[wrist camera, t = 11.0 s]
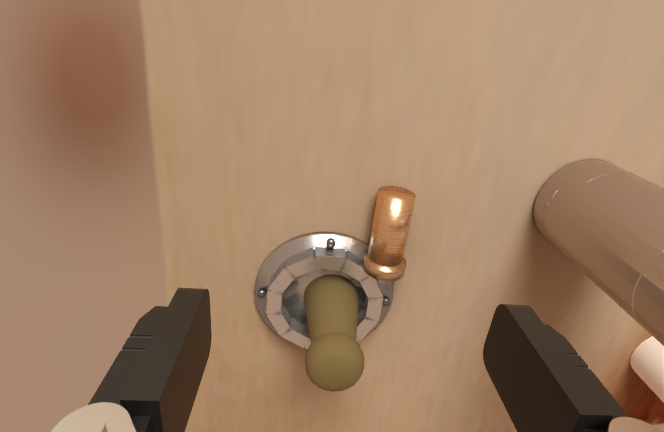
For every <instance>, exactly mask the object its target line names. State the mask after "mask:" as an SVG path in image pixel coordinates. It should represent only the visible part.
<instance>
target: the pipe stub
mask: <svg viewBox="0 0 664 432" xmlns="http://www.w3.org/2000/svg"><path fill="white" fill-rule="evenodd" d="M415 197H416V196H415V194H414V193H413V192H411V191H410V190H407V189H404V188H401V187H395V186H385V187H381V188H379V189H378V194H377V200H376V206H375V212H374V218H373V224H372V230H371V236H370V242H369V248H368V251H367V252H366V253H365V255H364V261H363V270H364V271H365V273H366V274H367V275H369V276H370V277H372V278H375V279H377V280H381V281H396V280H399V279H401V278H402V277H403V275H404V271H405V267H406V260H405V259H404V257H403V254H404V249H405V244H406V239H407V235H408V230H409V225H410V220H411V216H412V211H413V206H414V201H415Z"/></svg>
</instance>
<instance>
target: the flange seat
mask: <svg viewBox="0 0 664 432" xmlns="http://www.w3.org/2000/svg"><path fill="white" fill-rule="evenodd" d="M368 248H369V245H368V244H366V243H365V242H363V241H361V240H359V239H357V238H355V237H352V236H349V235H346V234H342V233H335V232H314V233H308V234H304V235H301V236H298V237H295V238H292V239H290V240H288V241H286V242H285V243H283V244H282V245H280V246H279V247H277V248H276V249H275V250H274V251H273V252H271V254H270V255H269V256H268V257H267V258H266V259H265V261H264V262H263V264H262V266H261V268H260V270H259V272H258V275H257V279H256V283H255V301H256V306H257V309H258V311H259V314H260V315H261V317H262V319H263V320H264V322H265V323H266V324H267V326H268V327H269V328H270V329H271V330H273V331H274V332H275V333H276V334H278V335H279V336H280V337H282V338H284V339H286V340H288V341H290V342H292V343H294V344H296V345H298V346H300V347H302V348H305V347H306V349H308V348H309V346H310V344H311V341H310V335H309V329H308V323H307V317H306V311H305V305H304V297H303V295H304V292H305V289H306V287H307V286H308V284H309V283H310V282H311V281H313V280H314V279H316V278H317V277H320V276H323V275H328V274H336V275H341V276H344V277H346V278H348V279H350V280H351V281H352V282H353V283H354V284H355V285H356V288H357V290H358V295H359V302H358V321H357V340H356V341H357V342H359V340H362V339H363V338H364V337H365V336H367V335H368V334H370V333H371V332H372V331H373V330H374V329H376V328H377V327H378V326H379V324H380V323H381V322H382V321H383V319H384V318H385V316H386V315H387V313H388V311H389V309H390V306H391V302H392V297H393V283H392V281H381V280H377V279H375V278H372V277H370V276H369V275H367V274H366V273H365V271H364V270H363V261H364V255H365V253H366V252H367V251H368Z"/></svg>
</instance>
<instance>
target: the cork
mask: <svg viewBox="0 0 664 432" xmlns="http://www.w3.org/2000/svg"><path fill="white" fill-rule="evenodd" d="M303 297H304V305H305V311H306V317H307V323H308V329H309V335H310V341H311V344H310V346H309V348H308V350H307V354H306V357H305V366H306V371H307V374H308V376H309V378H310V380H311V381H312V382H313V383H314V384H315V385H316V386H318V387H319V388H321V389H324V390H327V391H342V390H345V389H348V388H350V387H351V386H353V385H354V384H355V383H356V382H357V381H358V380H359V378H360V377H361V375H362V372H363V370H364V355H363V352H362V350H361V348H360V346H359V344H358V342H357V341H356V340H357V321H358V302H359V295H358V290H357V288H356V285H355V284H354V283H353V282H352V281H351V280H350V279H348V278H346V277H344V276H341V275H336V274H328V275H323V276H320V277H317V278H316V279H314V280H313V281H311V282H310V283H309V284H308V286H307V287H306V289H305V292H304V295H303Z"/></svg>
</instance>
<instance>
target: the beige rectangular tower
mask: <svg viewBox="0 0 664 432" xmlns="http://www.w3.org/2000/svg"><path fill="white" fill-rule="evenodd" d="M630 364H631V367H632V369H633V370H634V371H635V372H636V373H637V374H638V376H639V377H640V378H641V379H642V380H643V381H644V382H645V383H646V384H647V385H648V386H649V387H650V389H651V390H652V391H653V392H654V393H655V394H656V395H657V396H658V397H659V398H660V399H661V400H662V402H663V403H664V346H663V345H662V344H661V343H660V342H659V341H657V340H656V339H655V338H654V337H653V336H651V337H650V338H648V339H646V340H645V341H643V342H642V343H641V344H640V345H638V346H637V347H636V349H635V350H634V351H633V353H632V355H631V359H630Z"/></svg>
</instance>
